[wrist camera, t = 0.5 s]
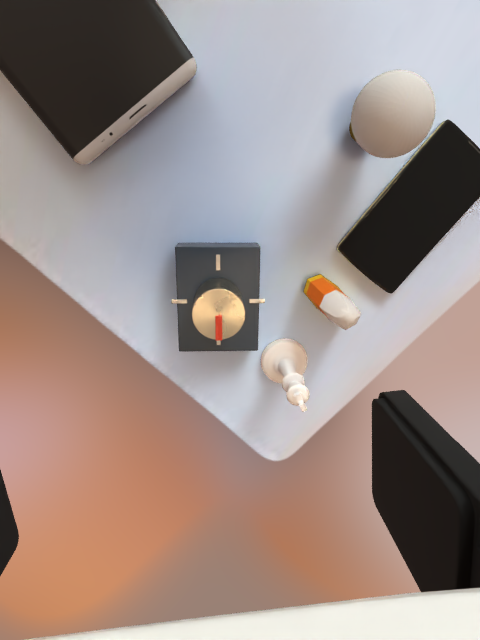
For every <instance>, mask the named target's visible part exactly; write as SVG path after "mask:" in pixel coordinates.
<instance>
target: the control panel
mask: <svg viewBox="0 0 480 640" xmlns="http://www.w3.org/2000/svg"><path fill="white" fill-rule="evenodd" d="M175 254H176V281H177V299H172V300H171V301H172V303H177V309H178V336H179V351H255V350H258V323H259V303H265V299H259V280H260V246H259V245H258V244H257V243H178V244H177V245H176V247H175ZM213 278H224V279H227V280H229V281H231V282H233V283H234V284H235V285H236V286H237V287H238V289H239V291H240V293H241V296H242V300H243V304H244V308H245V320H244V323H243V325H242V327H241V329H240V330H239V331H238V332H237V333H236V334H235V335H233V336H231V337H229V338H227V339H222V340H220V341H216V340H215V339H211V338H208V337H206V336H204V335H202V334H201V333H200V332H199V331H198V330H197V328H196V327H195V325H194V323H193V319H192V309H193V304H194V299H195V294H196V292H197V290H198V288H199V287H200V286H201V285H202V284H203V283H204V282H205V281H207V280H209V279H213Z"/></svg>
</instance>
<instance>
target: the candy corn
mask: <svg viewBox="0 0 480 640" xmlns="http://www.w3.org/2000/svg"><path fill="white" fill-rule="evenodd" d="M304 293H305V295H306V296H307V297H308V298H309V299H310V301H311V302H312V303H313V304H314V305H315V307H316V308H317V309H319V310H320V311H321V312H322V313H324V314H325V315H326V316H327V318H328V319H329V320H330V321H332V322H333V323H335V324H336V325H338V326H340V327H341V328H343V329H345V330H346V329H348V328H350V327H352V326H354V325H355V324H356V323H357V321H358V319H359V317H360V316H361V312H360V311H359V310H358V308H357V307H356V306H355V304H354V303H353V302H352V300H351V299H350V298H349V297H347V296H346V295H345V294H344V293H343V292H342V291H341V290H340V289H339V287H338V286H336V285H335V284H334V283H332V282H331V281H329V280H328V279H326V278H325V277H324V276H322V275H321V274H320V275H317V276H314V277H312V278H309V279H307V282H306V285H305V288H304Z"/></svg>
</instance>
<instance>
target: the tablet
mask: <svg viewBox="0 0 480 640" xmlns="http://www.w3.org/2000/svg"><path fill="white" fill-rule="evenodd" d="M196 69H197V67H196V61H195V59H194V57H193V56H192V54H191V53H190V51H189V50H188V48H187V47H186V45H185V44H184V42H183V41H182V39H181V38H180V36H179V35H178V33H177V32H176V30H175V29H174V27H173V26H172V24H171V23H170V21H169V20H168V18H167V16H166V15H165V13H164V12H163V10H162V9H161V7H160V6H159V4H158V3H157V1H156V0H0V70H1V72H2V73H3V74H4V75H5V77H6V78H7V79H8V80H9V81H10V83H11V84H12V85H13V86H14V88H15V89H16V90H17V91H18V93H19V94H20V95H21V96H22V97H23V99H24V100H25V101H26V102H27V104H28V105H29V106H30V107H31V108H32V110H33V111H34V112H35V113H36V115H37V116H38V117H39V118H40V120H41V121H42V122H43V123H44V124H45V126H46V127H47V128H48V129H49V131H50V132H51V133H52V134H53V136H54V137H55V138H56V139H57V140H58V142H59V143H60V144H61V145H62V147H63V148H64V149H65V150H66V151H67V153H68V154H69V155H70V156H71V158H72V159H73V160H74V161H75V162H77V163H79V164H83V165H87V164H89V163H91V162H92V161H93V160H95V159H96V158H97V157H98V156H99V155H101V154H102V153H103V152H104V151H105V150H107V149H108V148H109V147H110V146H111V145H113V144H114V143H115V142H116V141H117V140H118V139H120V138H121V137H122V136H123V135H124V134H126V133H127V132H128V131H129V130H130V129H132V128H133V127H134V126H135V125H136V124H138V123H139V122H140V121H141V120H142V119H144V118H145V117H146V116H147V115H148V114H150V113H151V112H152V111H153V110H154V109H156V108H157V107H158V106H159V105H160V104H162V103H163V102H164V101H165V100H166V99H168V98H169V97H170V96H171V95H172V94H174V93H175V92H176V91H177V90H178V89H179V88H181V87H182V86H183V85H184V84H185V83H187V82H188V81H189V80H190V79H191V78H193V77H194V75H195V73H196Z"/></svg>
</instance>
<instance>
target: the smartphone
mask: <svg viewBox="0 0 480 640" xmlns="http://www.w3.org/2000/svg"><path fill="white" fill-rule="evenodd" d="M479 197H480V149H479V148H478V146H477V145H476V144H475V143H474V142H473V141H472V140H471V139H470V138H469V137H468V136H467V135H465V134H464V133H463V132H462V131H461V130H460V129H459V128H458V127H457V126H456V125H455V124H454V123H453V122H452V121H450V120H446V121H444V122H442V123H441V124H440V126H439V127H438V128H437V129H436V130H435V131H434V132H433V134H432V135H431V136H430V137H429V138H428V139H427V140H426V142H425V143H424V144H423V145H422V146H421V147H420V148H419V150H418V151H417V152H416V153H415V154H414V155H413V157H412V158H411V159H410V160H409V161H408V162H407V164H406V165H405V166H404V167H403V168H402V169H401V171H400V172H399V173H398V174H397V175H396V176H395V178H394V179H393V180H392V181H391V182H390V183H389V185H388V186H387V187H386V188H385V189H384V190H383V192H382V193H381V194H380V195H379V196H378V198H377V199H376V200H375V201H374V202H373V204H372V205H371V206H370V207H369V208H368V209H367V211H366V212H365V213H364V214H363V215H362V217H361V218H360V219H359V220H358V221H357V223H356V224H355V225H354V226H353V227H352V229H351V230H350V231H349V232H348V234H347V235H346V236H345V237H344V238H343V240H342V241H341V242H340V243H339V245H338V247H337V248H338V250H339V251H340V252H341V253H342V254H343V255H344V256H345V257H346V258H347V259H348V260H349V261H350V262H351V263H352V264H353V265H354V266H355V267H356V268H357V269H358V270H360V271H361V272H362V273H363V274H364V275H365V276H367V277H368V278H369V279H370V280H372V281H373V282H374V283H375V284H377V285H378V286H379V287H381V288H382V289H383V290H385V291H386V292H388V293H393V292H394V291H395V290H396V289H397V288H398V287H399V285H400V284H401V283H402V282H403V281H404V280H405V279H406V277H407V276H408V275H409V274H410V273H411V272H412V271H413V270H414V268H415V267H416V266H417V265H418V264H419V263H420V262H421V261H422V260H423V258H424V257H425V256H426V255H427V254H428V253H429V252H430V251H431V250H432V249H433V247H434V246H435V245H436V244H437V243H438V242H439V241H440V240H441V239H442V237H443V236H444V235H445V234H446V233H447V232H448V231H449V230H450V229H451V228H452V226H453V225H454V224H455V223H456V222H457V221H458V220H459V219H460V218H461V217H462V216H463V214H464V213H465V212H466V211H467V210H468V209H469V208H470V207H471V206H472V205H473V204H474V202H475V201H476V200H477V199H478V198H479Z"/></svg>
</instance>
